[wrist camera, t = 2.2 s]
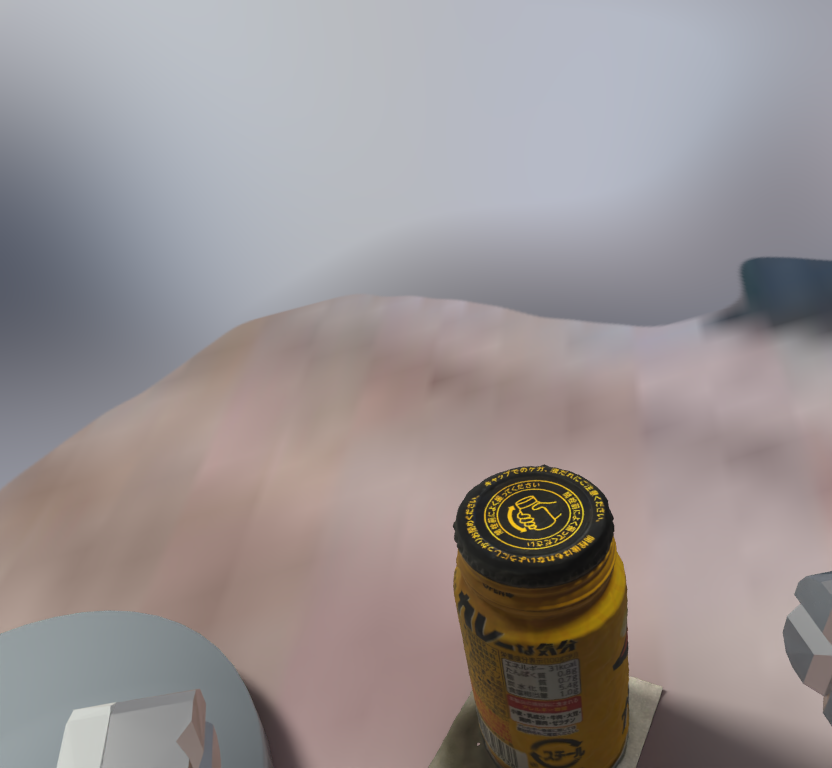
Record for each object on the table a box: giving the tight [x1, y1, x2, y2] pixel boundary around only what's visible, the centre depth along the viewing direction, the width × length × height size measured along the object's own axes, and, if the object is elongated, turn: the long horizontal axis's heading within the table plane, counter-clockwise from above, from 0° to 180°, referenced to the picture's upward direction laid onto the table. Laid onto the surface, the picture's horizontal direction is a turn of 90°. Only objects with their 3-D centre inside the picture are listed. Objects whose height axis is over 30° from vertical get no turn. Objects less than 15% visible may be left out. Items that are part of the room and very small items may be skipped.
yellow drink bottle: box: [428, 465, 663, 768], centre depth 28 cm, size 7×8×12 cm
